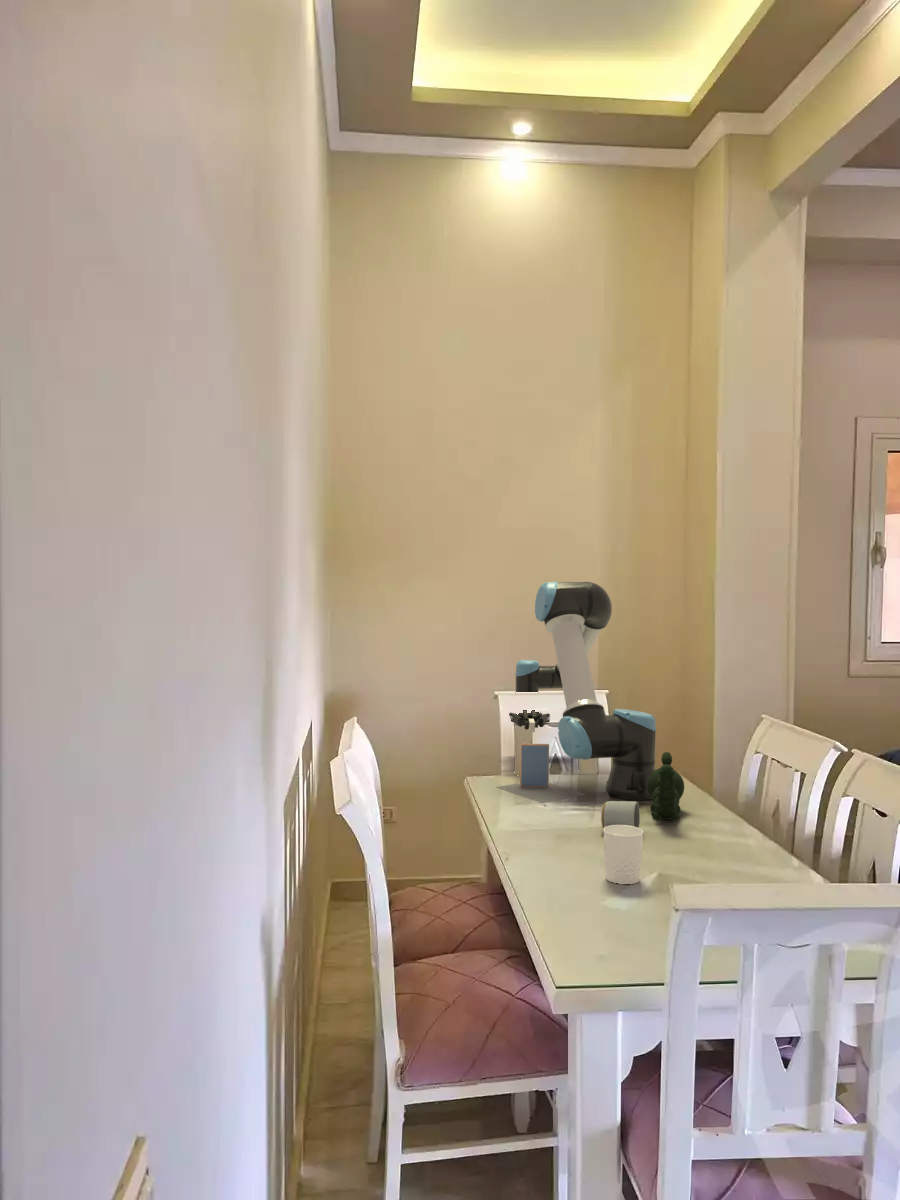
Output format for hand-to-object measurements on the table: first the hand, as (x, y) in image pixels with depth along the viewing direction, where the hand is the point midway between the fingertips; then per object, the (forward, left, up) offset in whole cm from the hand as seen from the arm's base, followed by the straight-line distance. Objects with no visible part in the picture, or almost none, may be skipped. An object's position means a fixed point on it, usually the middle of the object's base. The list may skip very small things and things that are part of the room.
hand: (532, 727), depth 262 cm
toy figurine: (-46, -6, -16) cm, 49 cm away
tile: (-7, +5, -15) cm, 17 cm away
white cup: (-74, +38, -16) cm, 84 cm away
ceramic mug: (-51, +15, -17) cm, 56 cm away
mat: (-12, +7, -16) cm, 21 cm away
